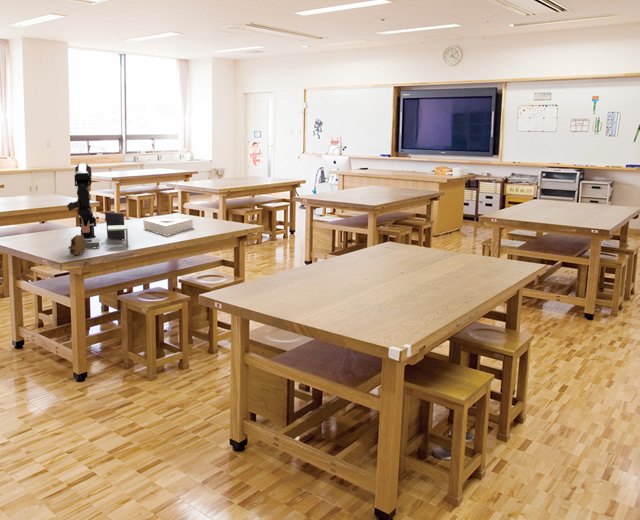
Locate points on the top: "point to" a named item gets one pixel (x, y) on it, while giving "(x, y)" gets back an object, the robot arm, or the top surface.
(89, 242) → the socket block
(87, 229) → the peg
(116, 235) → the black flat block
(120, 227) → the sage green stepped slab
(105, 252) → the top surface
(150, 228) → the white slab
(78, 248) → the wooden carving
